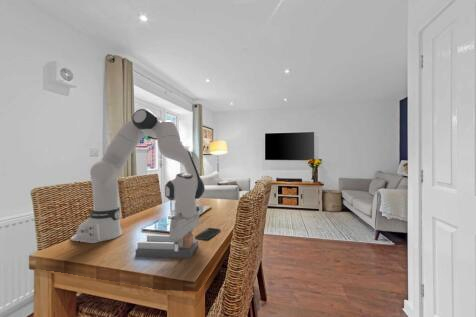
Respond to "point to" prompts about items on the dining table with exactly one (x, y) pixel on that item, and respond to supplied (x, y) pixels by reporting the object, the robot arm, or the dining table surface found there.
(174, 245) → the channel
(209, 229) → the phone
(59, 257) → the dining table surface
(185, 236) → the block
